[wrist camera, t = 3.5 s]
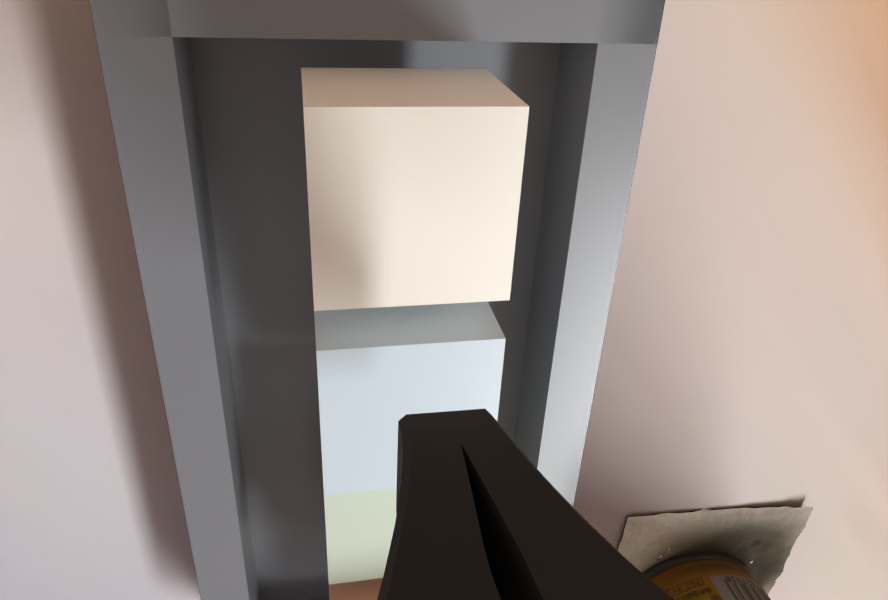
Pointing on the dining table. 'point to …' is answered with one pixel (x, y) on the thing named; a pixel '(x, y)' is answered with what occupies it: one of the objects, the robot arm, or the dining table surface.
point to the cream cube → (411, 185)
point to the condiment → (714, 550)
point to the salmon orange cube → (355, 590)
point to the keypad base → (288, 235)
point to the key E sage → (359, 534)
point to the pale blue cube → (397, 380)
